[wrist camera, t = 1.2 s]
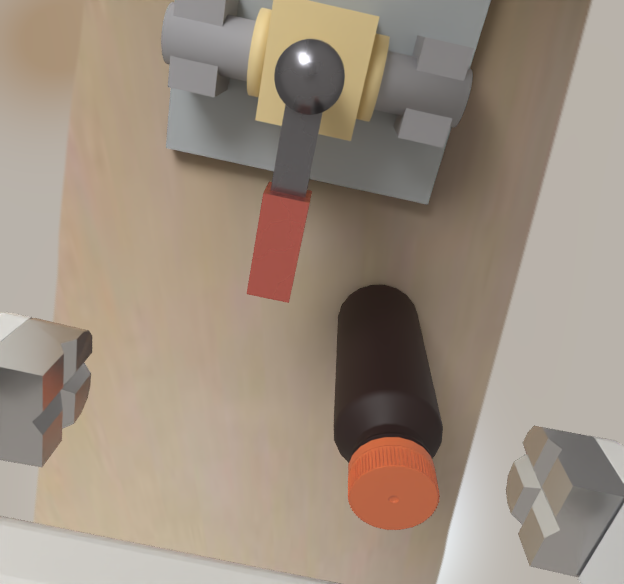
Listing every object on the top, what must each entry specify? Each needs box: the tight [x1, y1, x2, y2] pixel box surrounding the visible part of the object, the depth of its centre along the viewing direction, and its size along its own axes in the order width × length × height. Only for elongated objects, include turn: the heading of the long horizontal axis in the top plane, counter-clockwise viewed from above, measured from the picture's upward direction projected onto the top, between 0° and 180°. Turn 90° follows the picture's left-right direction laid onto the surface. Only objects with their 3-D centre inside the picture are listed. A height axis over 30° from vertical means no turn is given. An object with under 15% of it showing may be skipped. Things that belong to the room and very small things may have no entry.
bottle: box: [334, 285, 443, 530], centre depth 38 cm, size 7×7×20 cm
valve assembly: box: [161, 0, 491, 205], centre depth 34 cm, size 20×16×10 cm
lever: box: [247, 39, 345, 303], centre depth 31 cm, size 4×14×2 cm, turn 168°
